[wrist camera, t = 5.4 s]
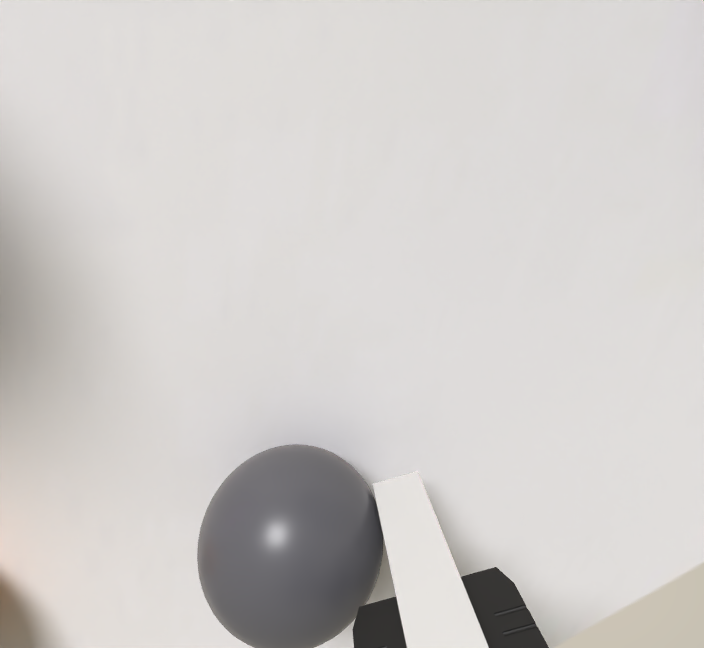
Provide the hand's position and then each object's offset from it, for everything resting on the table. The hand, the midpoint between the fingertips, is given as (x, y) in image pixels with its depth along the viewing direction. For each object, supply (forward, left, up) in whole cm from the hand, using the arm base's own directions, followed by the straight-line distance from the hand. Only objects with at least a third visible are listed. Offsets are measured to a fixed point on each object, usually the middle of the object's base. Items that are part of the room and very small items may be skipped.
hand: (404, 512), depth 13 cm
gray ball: (0, -4, 0) cm, 4 cm away
